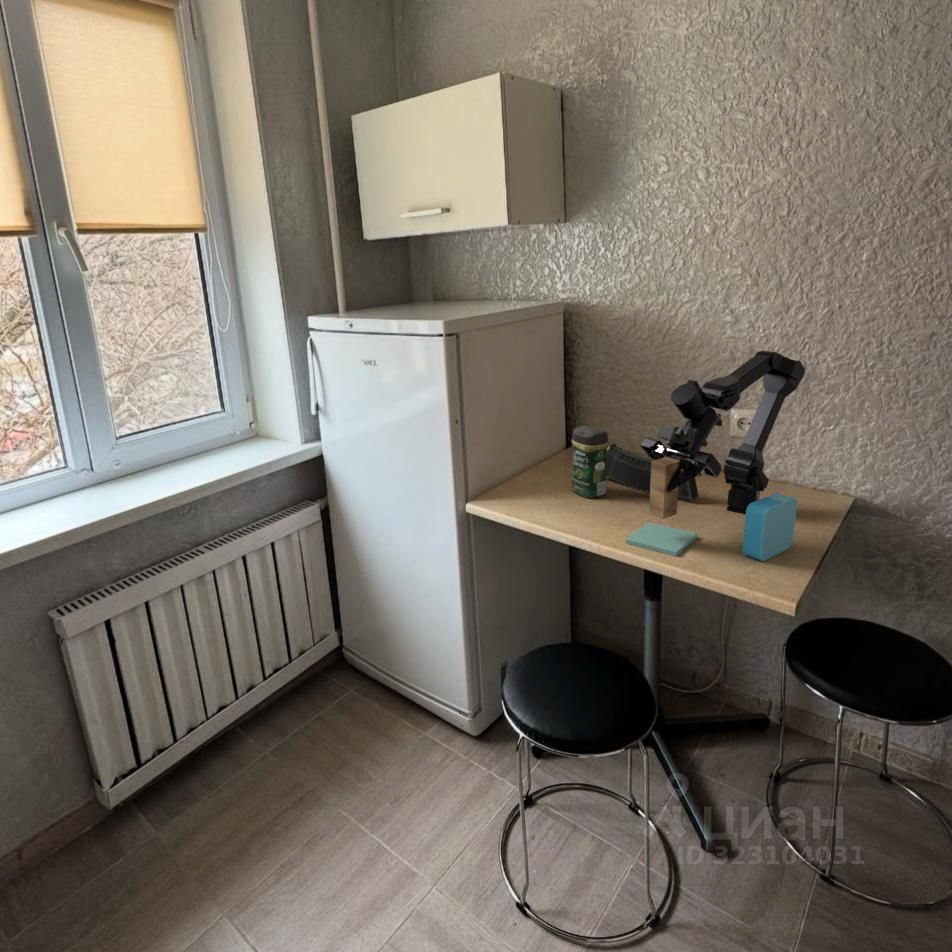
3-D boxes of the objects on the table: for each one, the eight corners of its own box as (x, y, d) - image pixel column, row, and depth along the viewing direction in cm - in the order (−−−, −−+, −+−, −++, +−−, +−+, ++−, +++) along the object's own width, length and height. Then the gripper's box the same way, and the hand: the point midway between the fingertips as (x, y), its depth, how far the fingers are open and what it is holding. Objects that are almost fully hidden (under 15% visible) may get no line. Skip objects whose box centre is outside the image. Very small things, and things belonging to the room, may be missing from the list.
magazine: (709, 470, 167) (617, 420, 185) (703, 473, 165) (610, 422, 182) (687, 524, 176) (601, 471, 193) (681, 528, 174) (594, 474, 191)
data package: (772, 541, 147) (778, 491, 143) (792, 547, 144) (798, 496, 140) (740, 556, 141) (746, 504, 137) (760, 563, 137) (766, 510, 133)
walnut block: (662, 509, 151) (665, 457, 146) (676, 514, 147) (679, 461, 143) (649, 514, 148) (651, 461, 144) (662, 519, 145) (665, 465, 141)
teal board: (697, 537, 150) (697, 533, 150) (675, 556, 142) (676, 552, 141) (648, 525, 158) (648, 522, 157) (625, 543, 149) (625, 539, 149)
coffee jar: (566, 491, 182) (566, 426, 176) (588, 485, 186) (589, 421, 180) (589, 501, 175) (590, 433, 169) (611, 495, 178) (613, 428, 172)
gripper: (647, 403, 150) (611, 459, 148) (717, 417, 135) (678, 480, 133) (669, 430, 156) (634, 484, 154) (737, 446, 141) (700, 506, 139)
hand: (660, 488), depth 145 cm, fingers closed on walnut block, 4 cm apart
